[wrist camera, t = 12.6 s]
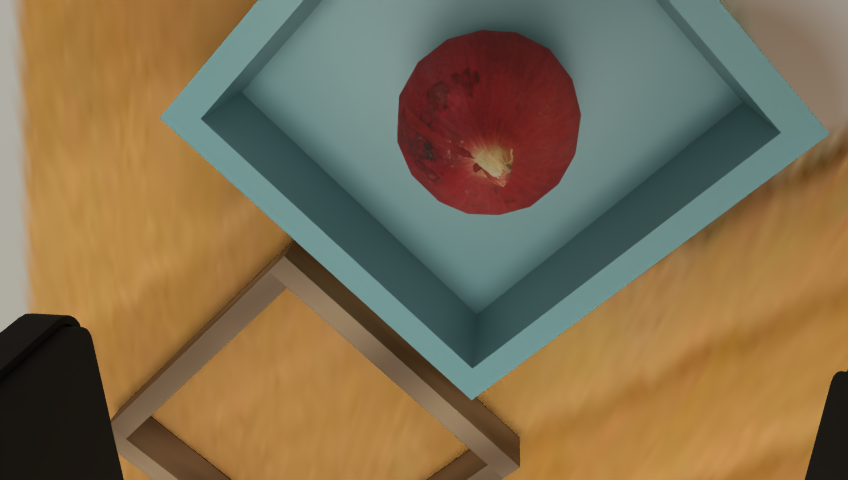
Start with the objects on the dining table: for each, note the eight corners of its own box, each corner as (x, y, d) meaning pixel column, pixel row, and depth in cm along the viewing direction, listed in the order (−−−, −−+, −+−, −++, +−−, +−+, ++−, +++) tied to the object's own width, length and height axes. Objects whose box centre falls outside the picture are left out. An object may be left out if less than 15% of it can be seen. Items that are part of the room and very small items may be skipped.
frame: (519, 437, 34) (519, 467, 32) (325, 572, 39) (316, 604, 37) (297, 236, 31) (284, 256, 29) (118, 410, 36) (97, 437, 34)
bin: (775, 96, 26) (829, 134, 22) (477, 331, 32) (471, 400, 27) (493, -239, 23) (489, -277, 19) (215, 85, 29) (159, 117, 24)
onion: (405, 165, 28) (376, 254, 21) (412, 10, 26) (381, 49, 18) (557, 177, 28) (581, 271, 20) (578, 21, 25) (614, 65, 18)
